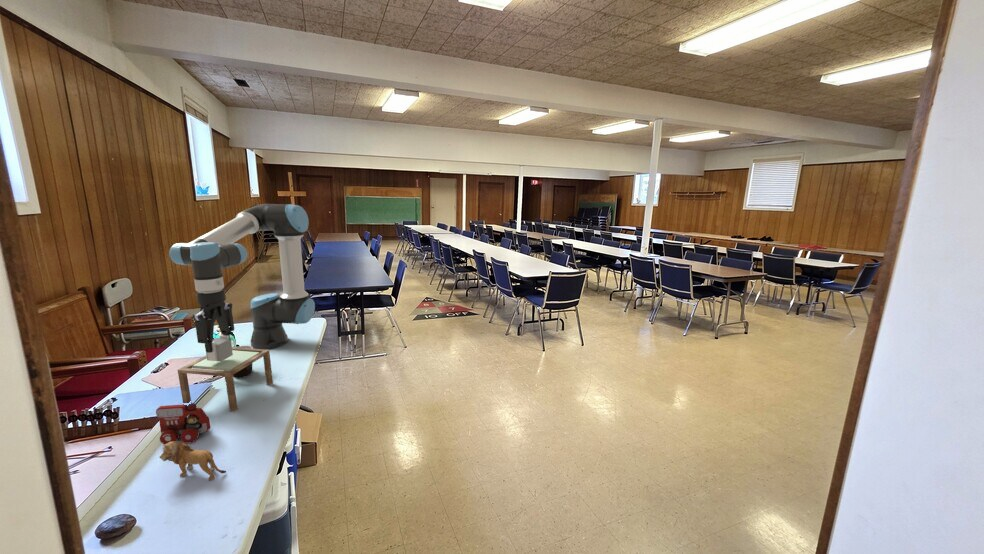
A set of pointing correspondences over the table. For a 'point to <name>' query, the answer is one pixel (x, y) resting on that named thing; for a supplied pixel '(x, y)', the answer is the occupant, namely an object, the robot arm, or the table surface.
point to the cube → (222, 348)
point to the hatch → (226, 361)
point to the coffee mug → (246, 370)
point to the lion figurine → (189, 458)
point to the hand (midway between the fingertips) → (220, 356)
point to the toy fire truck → (182, 422)
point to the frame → (227, 374)
